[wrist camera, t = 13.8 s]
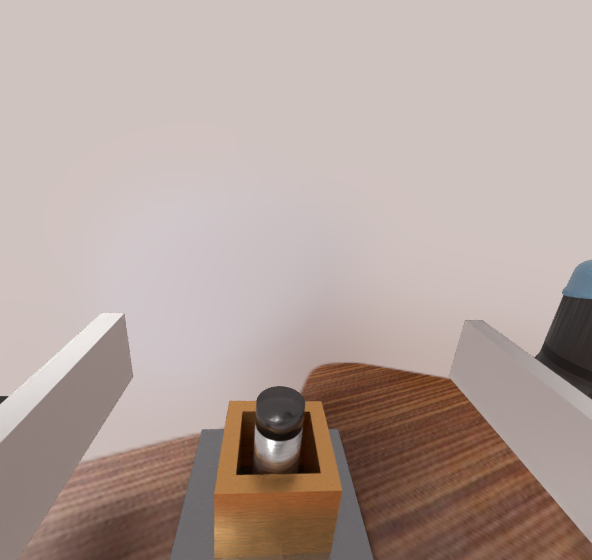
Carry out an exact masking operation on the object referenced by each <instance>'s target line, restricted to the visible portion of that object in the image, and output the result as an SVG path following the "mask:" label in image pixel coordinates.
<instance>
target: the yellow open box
mask: <svg viewBox="0 0 592 560" xmlns="http://www.w3.org/2000/svg"><path fill="white" fill-rule="evenodd" d="M255 419H256V401H229V406H228V412H227V417H226V423H225V429H210V430H202V432H201V436H200V440H199V444H198V448H197V452H196V456H195V460H194V464H193V468H192V472H191V476H190V480H189V484H188V488H187V492H186V496H185V500H184V504H183V508H182V512H181V516H180V520H179V524H178V528H177V532H176V536H175V540H174V544H173V548H172V552H171V556H170V560H374V559H373V556H372V552H371V548H370V545H369V541H368V537H367V534H366V530H365V526H364V523H363V519H362V515H361V512H360V508H359V504H358V501H357V497H356V493H355V490H354V486H353V483H352V479H351V475H350V472H349V468H348V464H347V461H346V457H345V453H344V450H343V446H342V442H341V439H340V435H339V431H338V429H328V426H327V422H326V417H325V413H324V410H323V406H322V401H305V412H304V421H303V429H302V438H301V446H300V455H299V464H298V472H303V474H268V475H240V473H253V457H254V438H255Z"/></svg>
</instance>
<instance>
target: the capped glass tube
mask: <svg viewBox="0 0 592 560" xmlns="http://www.w3.org/2000/svg"><path fill="white" fill-rule="evenodd" d="M304 412H305V400H304V398H303V396H302V395H301V394H300V393H299V392H297V391H296V390H294V389H292V388H288V387H282V386H277V387H271V388H268V389H266V390H264V391H263V392H262V393H260V395H259V396H258V398H257V401H256V419H255V438H254V457H253V475H268V474H297V472H298V464H299V455H300V446H301V438H302V429H303V421H304Z"/></svg>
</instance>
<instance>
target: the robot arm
mask: <svg viewBox="0 0 592 560" xmlns="http://www.w3.org/2000/svg"><path fill="white" fill-rule="evenodd" d="M562 294H564V295H563V298H562V300H561V303H560V305H559V307H558V310H557V312H556V314H555V317H554V319H553V322H552V324H551V327H550V329H549V331H548V334H547V336H546V338H545V341H544V344H543V346H542V349H541V351H540V352H539V354H538V355H537V356H536V357H535V358H534V357H532V356H531V355H529V354H528V353H527V352H525V351H524V350H523V349H521V348H520V347H518V346H517V345H516V344H514V343H513V342H512V341H510V340H509V339H508V338H506V337H505V336H503V335H502V334H501V333H499V332H498V331H496V330H495V329H494V328H492V327H491V326H490V325H488V324H487V323H485V322H484V321H483V320H482V321H481V320H465V322H464V326H463V329H462V333H461V336H460V340H459V343H458V347H457V350H456V354H455V357H454V360H453V364H452V367H451V371H450V374H449V377H450V378H451V379H452V381H453V382H454V383H455V384H456V385H457V386H458V388H459V389H460V390H461V391H462V392H463V394H464V395H465V396H466V397H467V398H468V399H469V401H470V402H471V403H472V404H473V405H474V406H475V408H476V409H477V410H478V411H479V412H480V413H481V415H482V416H483V417H484V418H485V419H486V420H487V422H488V423H489V424H490V425H491V426H492V427H493V429H494V430H495V431H496V432H497V433H498V434H499V436H500V437H501V438H502V439H503V440H504V441H505V443H506V444H507V445H508V446H509V447H510V448H511V450H512V451H513V452H514V453H515V454H516V455H517V457H518V458H519V459H520V460H521V461H522V462H523V464H524V465H525V466H526V467H527V468H528V469H529V471H530V472H531V473H532V474H533V475H534V476H535V478H536V479H537V480H538V481H539V482H540V483H541V485H542V486H543V487H544V488H545V489H546V490H547V492H548V493H549V494H550V495H551V496H552V497H553V499H554V500H555V501H556V502H557V503H558V504H559V506H560V507H561V508H562V509H563V510H564V512H565V513H566V514H567V515H568V516H569V517H570V519H571V520H572V521H573V522H574V523H575V524H576V526H577V527H578V528H579V529H580V530H581V531H582V533H583V534H584V535H585V536H586V537H587V538H588V540H589V541H590V542H591V543H592V260H588V261H585V262H583V263H581V264H579V265H578V266H577V267H576V268H575V270H574V272H573V274H572V276H571V278H570V280H569V282H568V284H567V286H566V287H565V288H564V289H563V291H562ZM132 378H133V372H132V365H131V358H130V351H129V344H128V336H127V329H126V322H125V315H124V313H101V314H100V315H99V316H98V317H97V318H96V319H95V320H93V321H92V322H91V323H90V324H89V325H88V326H87V327H86V328H85V329H83V330H82V331H81V332H80V333H79V334H78V335H77V336H76V337H75V338H74V339H72V340H71V341H70V342H69V343H68V344H67V345H66V346H65V347H64V348H62V349H61V350H60V351H59V352H58V353H57V354H56V355H55V356H54V357H52V358H51V359H50V360H49V361H48V362H47V363H46V364H45V365H43V366H42V367H41V368H40V369H39V370H38V371H37V372H36V373H35V374H33V375H32V376H31V377H30V378H29V379H28V380H27V381H26V382H25V383H23V384H22V385H21V386H20V387H19V388H18V389H17V390H16V391H15V392H13V393H12V394H11V395H10V396H0V560H18V559H19V557H20V555H21V554H22V552H23V551H24V549H25V547H26V546H27V544H28V543H29V541H30V540H31V538H32V536H33V535H34V533H35V532H36V530H37V528H38V527H39V525H40V524H41V522H42V520H43V519H44V517H45V516H46V514H47V513H48V511H49V509H50V508H51V506H52V505H53V503H54V501H55V500H56V498H57V497H58V495H59V494H60V492H61V490H62V489H63V487H64V486H65V484H66V482H67V481H68V479H69V478H70V476H71V475H72V473H73V471H74V470H75V468H76V467H77V465H78V463H79V462H80V460H81V459H82V457H83V455H84V454H85V452H86V451H87V449H88V448H89V446H90V444H91V443H92V441H93V440H94V438H95V436H96V435H97V433H98V432H99V430H100V429H101V427H102V425H103V423H104V422H105V421H106V419H107V417H108V416H109V414H110V412H111V411H112V409H113V408H114V406H115V405H116V403H117V402H118V400H119V398H120V397H121V395H122V394H123V392H124V390H125V389H126V387H127V386H128V384H129V382H130V381H131V379H132Z"/></svg>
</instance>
